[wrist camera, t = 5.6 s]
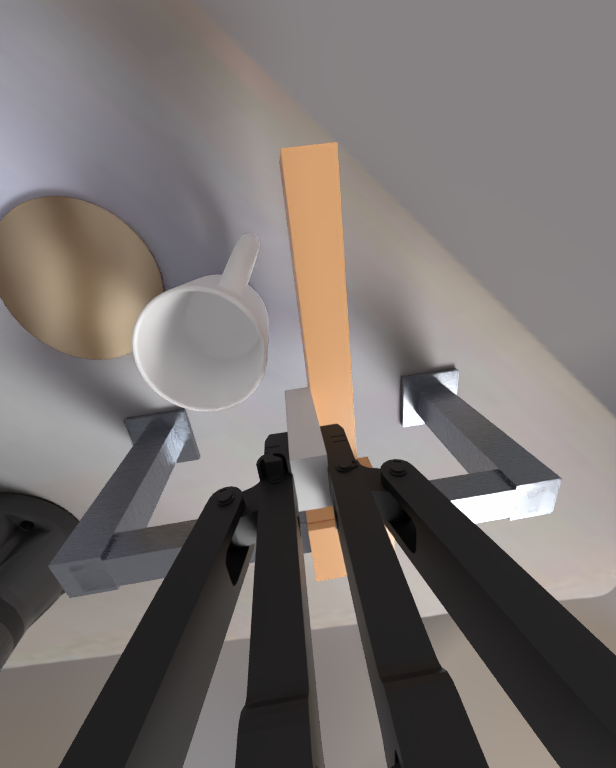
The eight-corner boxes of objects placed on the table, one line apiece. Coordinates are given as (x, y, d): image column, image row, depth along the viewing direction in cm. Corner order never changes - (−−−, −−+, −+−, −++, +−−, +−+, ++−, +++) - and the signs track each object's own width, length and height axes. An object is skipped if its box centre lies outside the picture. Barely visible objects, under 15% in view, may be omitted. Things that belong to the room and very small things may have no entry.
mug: (212, 211, 25) (175, 189, 16) (301, 260, 28) (316, 267, 18) (166, 340, 29) (115, 384, 20) (248, 374, 31) (238, 428, 22)
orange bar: (307, 514, 24) (316, 582, 19) (252, 166, 15) (242, 124, 10) (369, 503, 25) (394, 568, 20) (353, 154, 15) (393, 108, 10)
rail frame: (145, 464, 34) (55, 616, 20) (126, 417, 32) (8, 553, 18) (451, 416, 36) (567, 525, 22) (455, 368, 33) (589, 455, 19)
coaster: (41, 366, 29) (37, 369, 28) (-39, 207, 24) (-46, 206, 23) (182, 346, 29) (180, 348, 29) (135, 187, 24) (132, 186, 24)
